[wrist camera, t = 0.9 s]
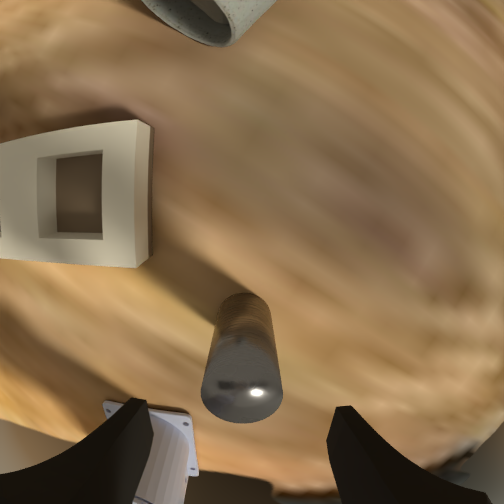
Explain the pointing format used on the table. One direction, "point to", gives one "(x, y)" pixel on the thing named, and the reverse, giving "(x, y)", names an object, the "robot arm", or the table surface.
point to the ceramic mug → (210, 17)
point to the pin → (242, 362)
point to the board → (78, 195)
